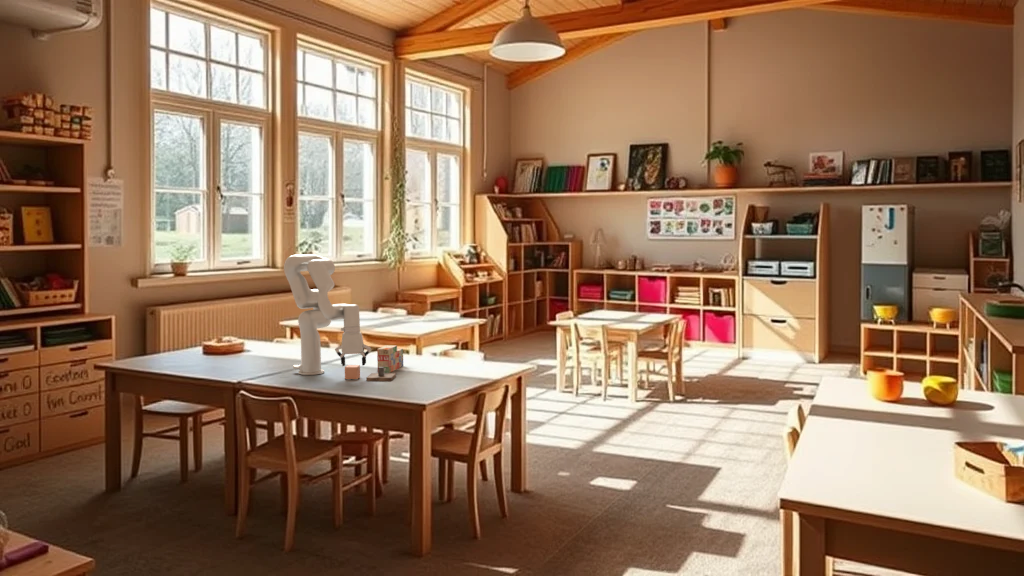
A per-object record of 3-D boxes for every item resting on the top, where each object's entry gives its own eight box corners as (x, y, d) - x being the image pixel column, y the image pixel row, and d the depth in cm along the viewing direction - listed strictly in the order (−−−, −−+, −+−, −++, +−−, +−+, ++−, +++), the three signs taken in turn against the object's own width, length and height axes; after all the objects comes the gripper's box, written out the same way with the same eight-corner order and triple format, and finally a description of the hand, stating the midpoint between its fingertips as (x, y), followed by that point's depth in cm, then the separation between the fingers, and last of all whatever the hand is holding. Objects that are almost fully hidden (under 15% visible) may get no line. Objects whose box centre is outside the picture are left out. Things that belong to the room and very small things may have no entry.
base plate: (366, 380, 391) (366, 369, 391) (371, 376, 403) (371, 365, 403) (391, 380, 391) (391, 369, 390) (395, 376, 403) (395, 365, 402)
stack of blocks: (392, 365, 434) (392, 342, 434) (403, 366, 433) (403, 342, 432) (377, 372, 414) (377, 348, 413) (389, 373, 412) (388, 348, 411)
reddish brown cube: (344, 379, 395) (344, 367, 394) (347, 377, 400) (347, 365, 400) (357, 379, 394) (357, 367, 394) (360, 377, 400) (359, 365, 400)
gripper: (332, 331, 392) (334, 367, 393) (368, 330, 391) (369, 366, 392) (336, 329, 400) (337, 364, 400) (371, 328, 399) (373, 363, 400)
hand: (353, 365), depth 396 cm, fingers open, 9 cm apart
